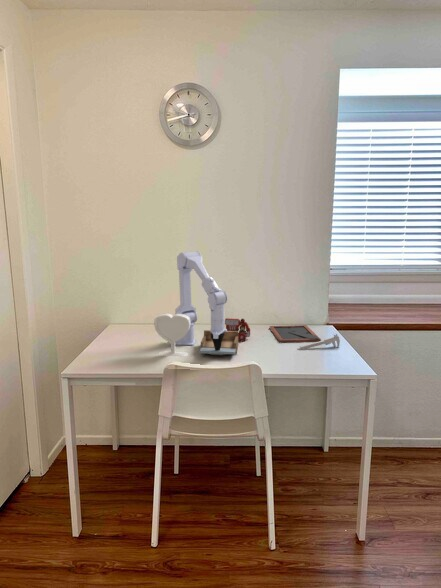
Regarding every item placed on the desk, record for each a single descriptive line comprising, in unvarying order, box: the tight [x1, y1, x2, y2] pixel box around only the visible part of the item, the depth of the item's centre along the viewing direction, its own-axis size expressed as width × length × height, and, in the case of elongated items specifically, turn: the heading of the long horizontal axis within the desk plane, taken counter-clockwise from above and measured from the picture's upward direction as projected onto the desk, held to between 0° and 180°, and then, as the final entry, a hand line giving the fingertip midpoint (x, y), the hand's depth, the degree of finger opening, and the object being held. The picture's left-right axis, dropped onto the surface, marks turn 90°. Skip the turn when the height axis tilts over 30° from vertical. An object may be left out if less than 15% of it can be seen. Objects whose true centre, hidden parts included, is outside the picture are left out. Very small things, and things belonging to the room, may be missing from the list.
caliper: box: [297, 333, 341, 351], centre depth 190 cm, size 20×1×6 cm, turn 102°
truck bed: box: [200, 329, 239, 355], centre depth 189 cm, size 16×12×7 cm
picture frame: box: [269, 324, 322, 344], centre depth 211 cm, size 20×2×25 cm
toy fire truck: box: [224, 318, 251, 342], centre depth 203 cm, size 7×12×10 cm, turn 82°
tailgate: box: [199, 347, 236, 356], centre depth 180 cm, size 15×2×6 cm
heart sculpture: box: [153, 312, 191, 357], centre depth 182 cm, size 16×5×18 cm, turn 83°
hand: (217, 349), depth 179 cm, fingers closed
